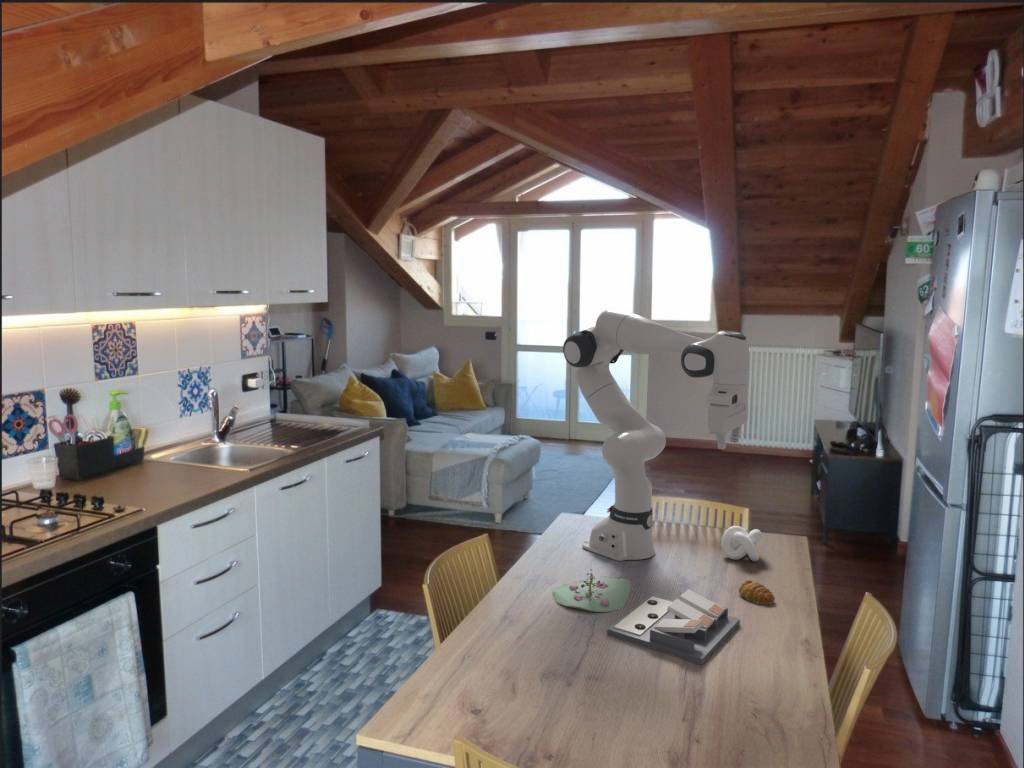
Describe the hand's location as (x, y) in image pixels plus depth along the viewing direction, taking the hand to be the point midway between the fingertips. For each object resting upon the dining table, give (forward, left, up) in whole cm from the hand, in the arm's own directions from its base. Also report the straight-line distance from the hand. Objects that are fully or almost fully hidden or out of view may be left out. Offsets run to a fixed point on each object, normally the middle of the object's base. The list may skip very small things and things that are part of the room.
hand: (728, 445), depth 205 cm
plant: (-27, -21, -42) cm, 54 cm away
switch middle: (+3, -28, -36) cm, 45 cm away
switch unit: (-1, -28, -41) cm, 49 cm away
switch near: (+3, -35, -36) cm, 50 cm away
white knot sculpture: (-3, +27, -41) cm, 49 cm away
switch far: (+3, -21, -36) cm, 42 cm away
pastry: (+9, +3, -41) cm, 42 cm away
